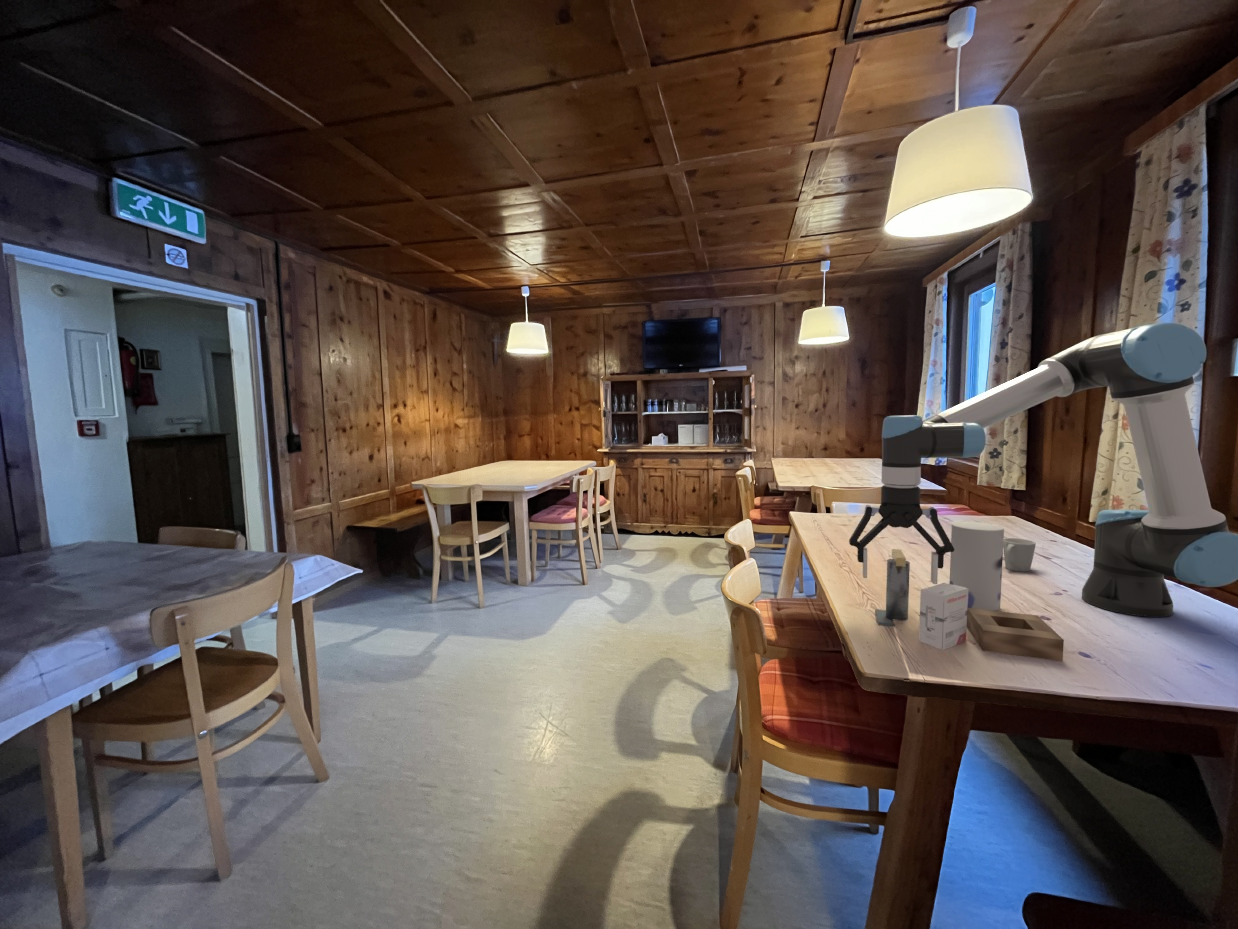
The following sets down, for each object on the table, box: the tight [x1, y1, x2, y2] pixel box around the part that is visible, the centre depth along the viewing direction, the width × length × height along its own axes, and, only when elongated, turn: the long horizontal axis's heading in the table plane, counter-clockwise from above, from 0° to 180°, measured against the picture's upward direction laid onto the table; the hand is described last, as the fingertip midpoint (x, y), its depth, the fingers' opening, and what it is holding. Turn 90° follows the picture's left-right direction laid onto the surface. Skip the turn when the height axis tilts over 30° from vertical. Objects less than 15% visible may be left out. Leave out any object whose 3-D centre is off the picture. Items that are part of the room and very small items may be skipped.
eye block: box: [967, 608, 1065, 662], centre depth 97 cm, size 12×12×5 cm
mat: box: [874, 608, 896, 628], centre depth 111 cm, size 8×8×1 cm
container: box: [949, 520, 1005, 611], centre depth 117 cm, size 10×10×20 cm
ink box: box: [918, 582, 968, 651], centre depth 98 cm, size 9×5×12 cm, turn 118°
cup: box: [1003, 537, 1036, 573], centre depth 145 cm, size 8×10×8 cm
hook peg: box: [885, 548, 911, 621], centre depth 110 cm, size 8×4×15 cm, turn 157°
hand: (898, 579), depth 110 cm, fingers open, 13 cm apart
